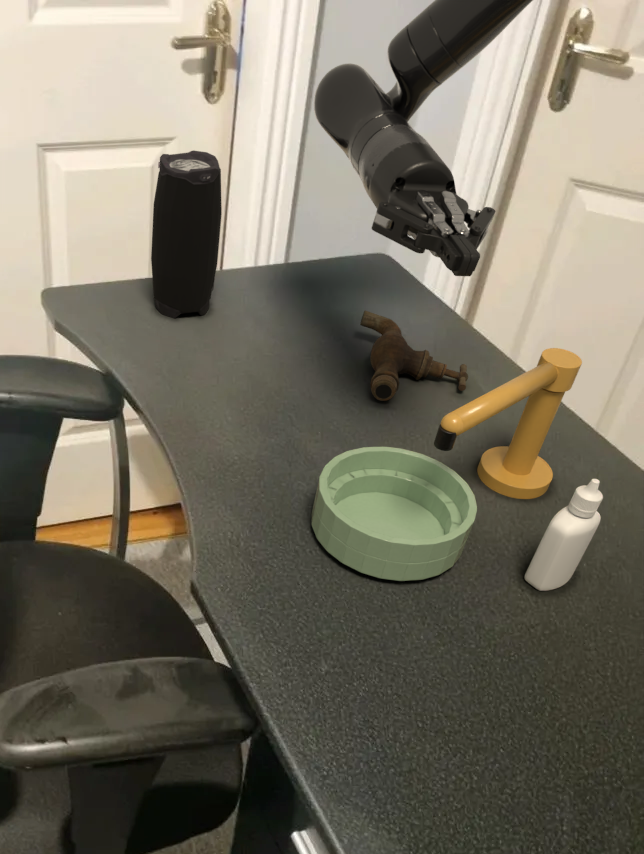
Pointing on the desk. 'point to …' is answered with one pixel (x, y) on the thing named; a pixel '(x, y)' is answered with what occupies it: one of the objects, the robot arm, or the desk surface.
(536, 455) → the tap base
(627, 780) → the desk surface
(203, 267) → the portable speaker
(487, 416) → the spout
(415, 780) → the desk surface
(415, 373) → the faucet
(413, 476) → the basin
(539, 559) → the eye dropper bottle
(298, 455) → the desk surface
